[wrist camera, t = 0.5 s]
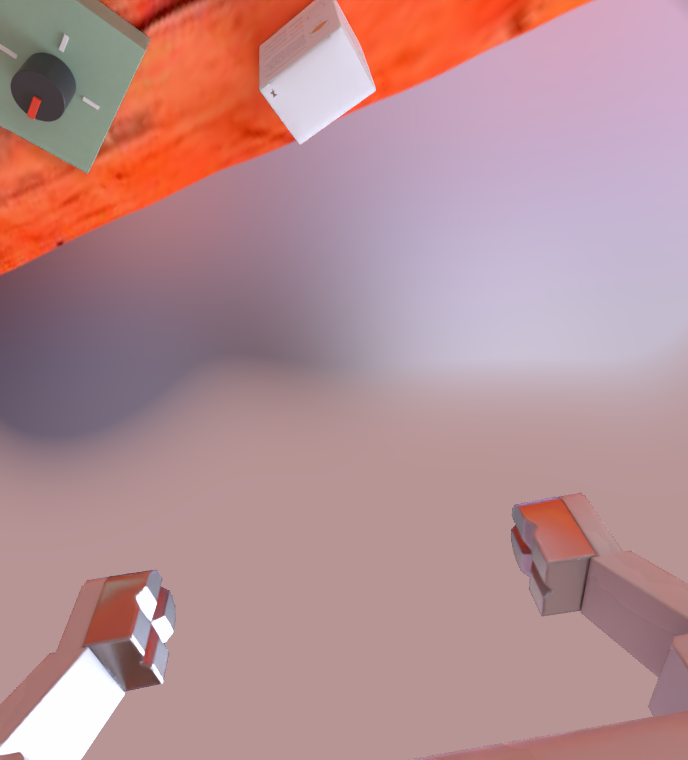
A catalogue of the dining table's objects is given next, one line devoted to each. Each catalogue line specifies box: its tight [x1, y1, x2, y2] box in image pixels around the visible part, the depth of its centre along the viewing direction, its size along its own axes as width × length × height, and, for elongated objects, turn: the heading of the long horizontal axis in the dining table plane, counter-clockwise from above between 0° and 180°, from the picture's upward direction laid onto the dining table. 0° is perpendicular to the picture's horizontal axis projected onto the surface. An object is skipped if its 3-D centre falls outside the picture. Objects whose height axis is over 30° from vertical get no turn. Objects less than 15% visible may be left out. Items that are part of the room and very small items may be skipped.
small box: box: [259, 0, 376, 145], centre depth 44 cm, size 8×6×10 cm
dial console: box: [0, 0, 150, 174], centre depth 45 cm, size 14×11×3 cm
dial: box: [10, 53, 76, 122], centre depth 43 cm, size 4×4×4 cm
